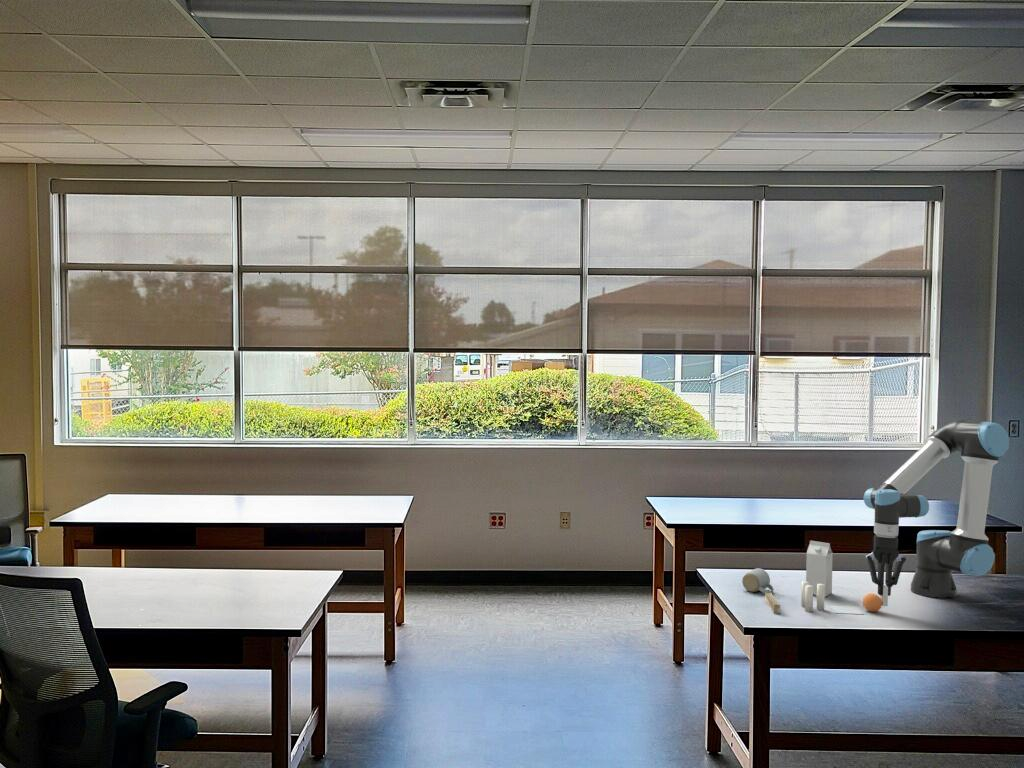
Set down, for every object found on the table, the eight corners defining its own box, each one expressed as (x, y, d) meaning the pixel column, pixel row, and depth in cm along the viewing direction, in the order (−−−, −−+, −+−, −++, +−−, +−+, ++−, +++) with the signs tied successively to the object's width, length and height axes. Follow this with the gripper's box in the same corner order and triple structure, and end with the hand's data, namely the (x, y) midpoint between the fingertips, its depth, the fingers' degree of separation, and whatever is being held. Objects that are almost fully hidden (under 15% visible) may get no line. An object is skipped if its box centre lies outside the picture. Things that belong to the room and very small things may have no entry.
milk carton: (812, 589, 295) (813, 539, 295) (831, 593, 291) (832, 541, 290) (805, 593, 290) (806, 542, 289) (825, 597, 285) (826, 545, 285)
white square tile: (855, 607, 273) (856, 606, 273) (863, 614, 265) (863, 613, 265) (829, 606, 274) (829, 605, 274) (836, 613, 266) (836, 612, 266)
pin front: (823, 608, 272) (823, 583, 272) (825, 610, 269) (825, 585, 269) (815, 608, 272) (816, 583, 272) (817, 610, 270) (818, 585, 269)
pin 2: (811, 610, 270) (811, 585, 270) (813, 612, 267) (813, 587, 267) (804, 609, 270) (804, 585, 270) (806, 611, 268) (806, 586, 267)
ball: (878, 609, 272) (878, 591, 272) (884, 614, 266) (884, 596, 266) (859, 608, 272) (860, 591, 272) (865, 613, 266) (866, 595, 266)
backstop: (770, 601, 279) (770, 593, 279) (780, 613, 265) (780, 604, 265) (765, 601, 279) (765, 592, 279) (774, 613, 265) (774, 604, 265)
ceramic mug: (740, 590, 293) (741, 570, 293) (751, 586, 299) (751, 566, 299) (767, 597, 286) (768, 576, 285) (777, 592, 292) (778, 571, 291)
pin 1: (807, 605, 275) (807, 581, 275) (809, 607, 272) (809, 583, 272) (800, 605, 275) (800, 581, 275) (802, 607, 273) (802, 582, 272)
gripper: (870, 536, 265) (868, 607, 265) (910, 538, 264) (908, 609, 264) (862, 532, 272) (860, 600, 272) (901, 534, 271) (899, 602, 271)
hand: (883, 604), depth 268 cm, fingers closed
